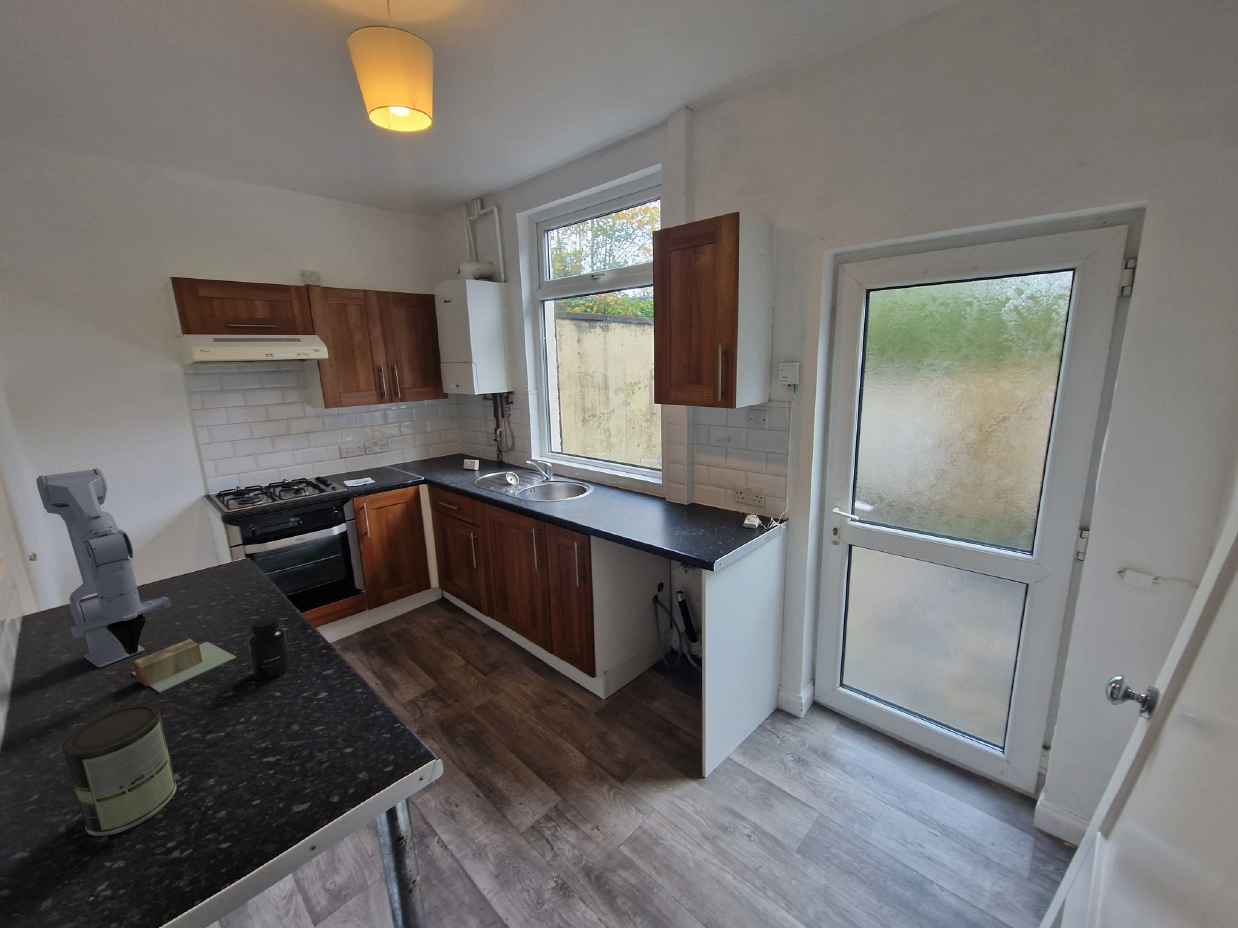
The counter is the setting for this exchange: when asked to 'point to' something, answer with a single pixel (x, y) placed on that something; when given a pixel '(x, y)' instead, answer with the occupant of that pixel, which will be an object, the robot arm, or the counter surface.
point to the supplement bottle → (268, 649)
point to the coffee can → (120, 768)
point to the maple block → (167, 662)
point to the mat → (196, 667)
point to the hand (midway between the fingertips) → (132, 651)
